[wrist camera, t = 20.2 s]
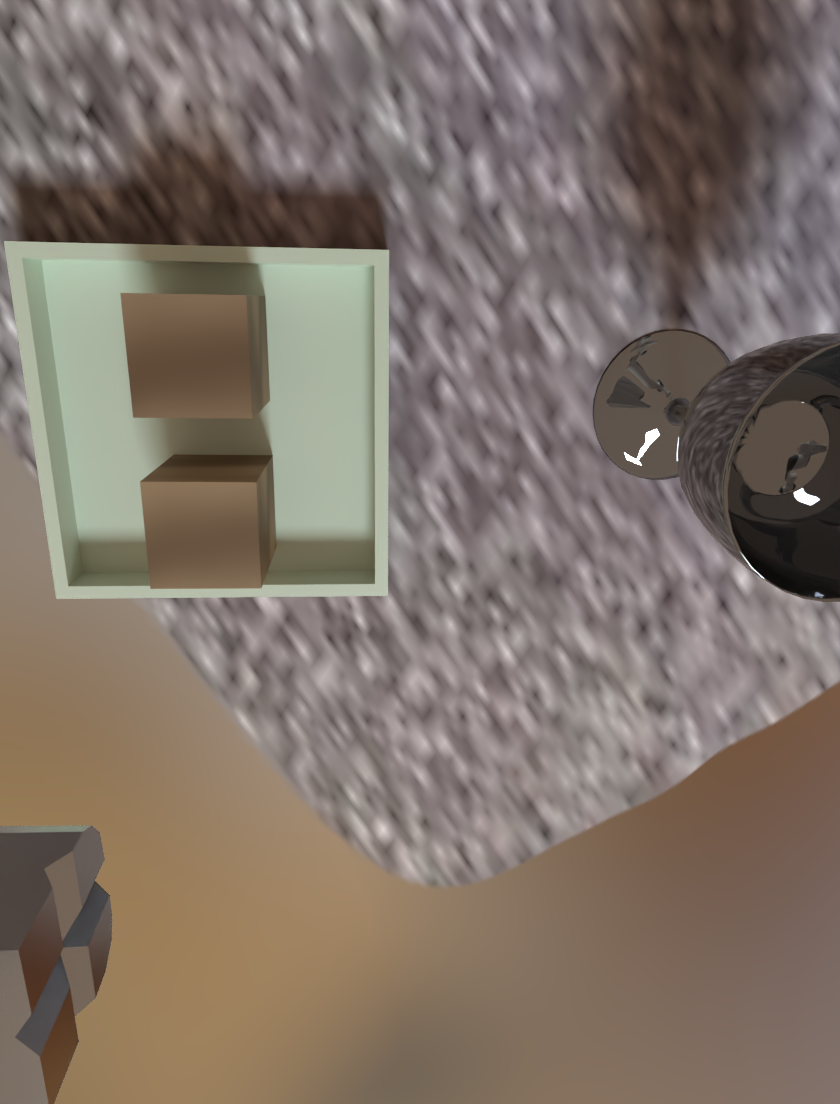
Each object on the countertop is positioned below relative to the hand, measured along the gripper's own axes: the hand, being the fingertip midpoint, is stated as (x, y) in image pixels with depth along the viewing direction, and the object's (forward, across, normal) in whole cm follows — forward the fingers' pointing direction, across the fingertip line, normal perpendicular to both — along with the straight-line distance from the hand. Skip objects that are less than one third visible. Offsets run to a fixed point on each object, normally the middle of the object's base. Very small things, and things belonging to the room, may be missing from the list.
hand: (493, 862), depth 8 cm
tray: (+29, +8, 0) cm, 30 cm away
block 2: (+28, +8, +4) cm, 30 cm away
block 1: (+28, +8, -4) cm, 30 cm away
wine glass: (+29, -13, -1) cm, 32 cm away
